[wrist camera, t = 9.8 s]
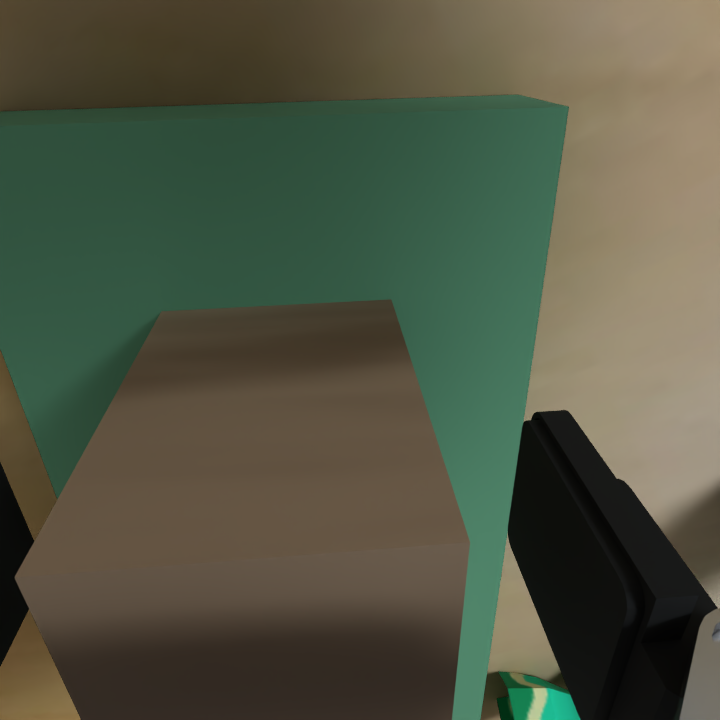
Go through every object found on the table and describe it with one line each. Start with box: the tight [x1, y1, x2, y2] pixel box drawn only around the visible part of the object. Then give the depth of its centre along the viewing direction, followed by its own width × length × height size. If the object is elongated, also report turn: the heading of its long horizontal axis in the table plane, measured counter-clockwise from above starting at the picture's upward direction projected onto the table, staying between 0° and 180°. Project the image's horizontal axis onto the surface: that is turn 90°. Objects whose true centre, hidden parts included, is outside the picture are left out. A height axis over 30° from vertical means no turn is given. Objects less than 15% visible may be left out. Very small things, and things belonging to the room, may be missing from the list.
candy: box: [497, 671, 580, 720], centre depth 24 cm, size 12×3×4 cm
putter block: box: [14, 299, 470, 720], centre depth 11 cm, size 6×5×7 cm
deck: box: [0, 95, 569, 720], centre depth 17 cm, size 26×12×6 cm, turn 1°
